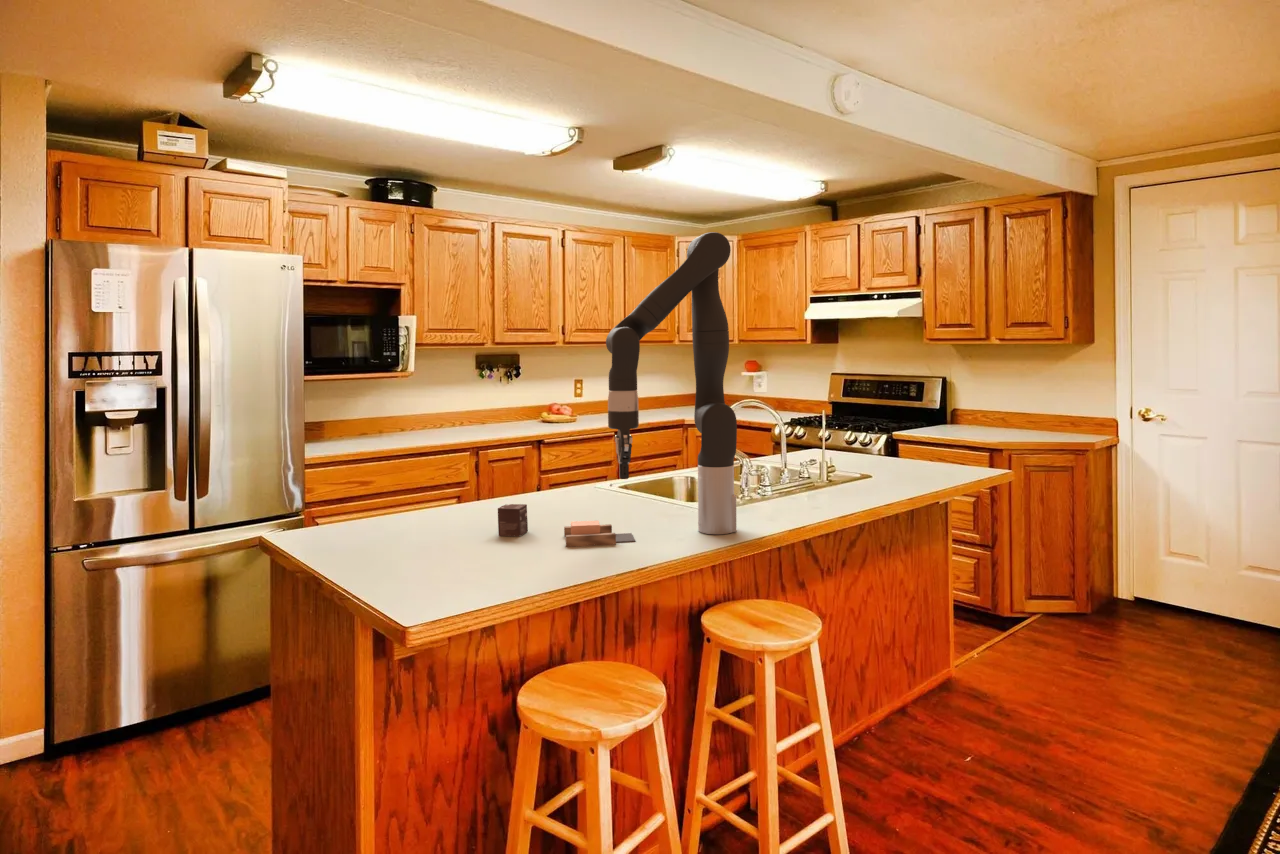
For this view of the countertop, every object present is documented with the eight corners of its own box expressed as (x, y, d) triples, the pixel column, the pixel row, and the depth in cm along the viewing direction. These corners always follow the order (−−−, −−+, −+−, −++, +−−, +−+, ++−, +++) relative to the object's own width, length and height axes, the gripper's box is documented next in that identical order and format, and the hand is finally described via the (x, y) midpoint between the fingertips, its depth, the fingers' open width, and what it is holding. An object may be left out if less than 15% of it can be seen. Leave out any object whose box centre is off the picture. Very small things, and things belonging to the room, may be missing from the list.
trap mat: (631, 534, 193) (631, 533, 193) (635, 541, 186) (635, 540, 186) (611, 535, 193) (611, 534, 193) (615, 542, 185) (615, 541, 185)
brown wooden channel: (611, 533, 194) (611, 524, 194) (615, 544, 183) (615, 534, 183) (564, 536, 193) (564, 526, 192) (566, 546, 182) (565, 536, 182)
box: (520, 537, 193) (519, 508, 192) (497, 536, 194) (496, 508, 193) (528, 531, 199) (527, 504, 198) (506, 531, 200) (505, 503, 199)
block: (599, 538, 191) (598, 520, 190) (600, 542, 186) (599, 524, 185) (571, 539, 190) (570, 521, 190) (571, 544, 185) (571, 526, 185)
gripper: (642, 410, 180) (642, 482, 182) (634, 406, 193) (635, 474, 195) (610, 411, 179) (611, 483, 181) (605, 407, 192) (606, 475, 194)
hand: (624, 478), depth 188 cm, fingers closed
